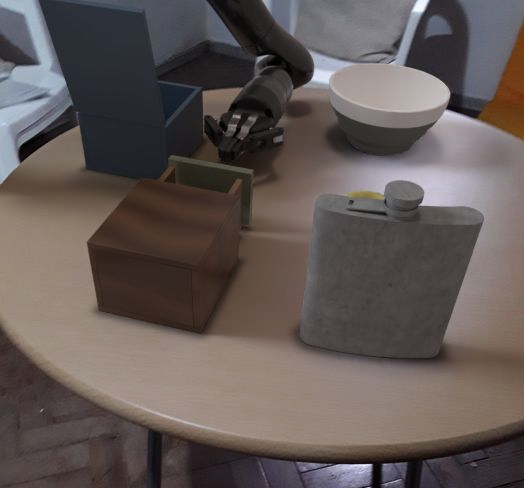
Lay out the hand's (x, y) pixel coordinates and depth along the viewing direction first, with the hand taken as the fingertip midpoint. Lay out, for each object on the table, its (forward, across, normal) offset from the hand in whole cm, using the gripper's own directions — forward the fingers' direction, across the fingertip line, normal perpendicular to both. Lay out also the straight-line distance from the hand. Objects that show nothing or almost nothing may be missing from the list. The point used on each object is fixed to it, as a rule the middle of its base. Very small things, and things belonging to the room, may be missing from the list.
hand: (225, 156), depth 88 cm
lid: (+1, -16, -11) cm, 19 cm away
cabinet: (+21, 0, +7) cm, 22 cm away
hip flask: (+24, +25, +7) cm, 36 cm away
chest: (-9, -16, +7) cm, 19 cm away
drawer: (+12, 0, +6) cm, 13 cm away
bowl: (-27, +19, +7) cm, 34 cm away
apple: (+6, +21, +7) cm, 23 cm away
